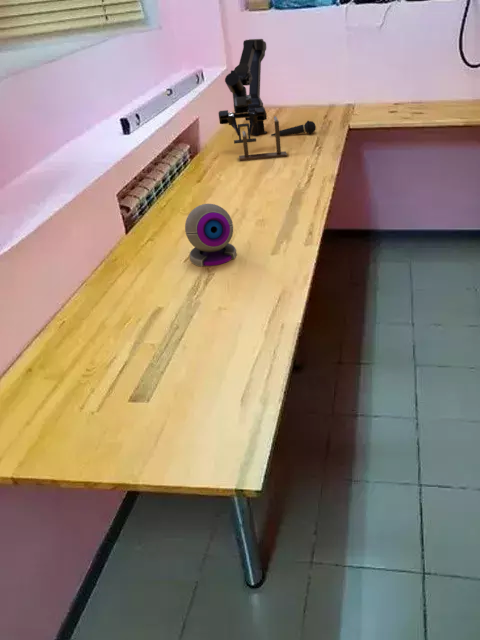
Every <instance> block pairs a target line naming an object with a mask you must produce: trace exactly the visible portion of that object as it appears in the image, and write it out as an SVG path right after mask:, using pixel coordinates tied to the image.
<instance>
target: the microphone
mask: <svg viewBox="0 0 480 640" xmlns="http://www.w3.org/2000/svg"><path fill="white" fill-rule="evenodd" d="M316 127H317V126H316V123H315V122H314V121H312V120H307V121H306V122H305V123H304V124H300V125H296V126H292V127H287V128H284V129H279V132H280V137H283V136H290V135H299V134H305V133H306V134H309V135H312V134H313V133H315V132H316V129H317V128H316ZM270 136H272V137H274V136H275V132H274V133H271V134H270ZM275 137H276V136H275Z"/></svg>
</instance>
